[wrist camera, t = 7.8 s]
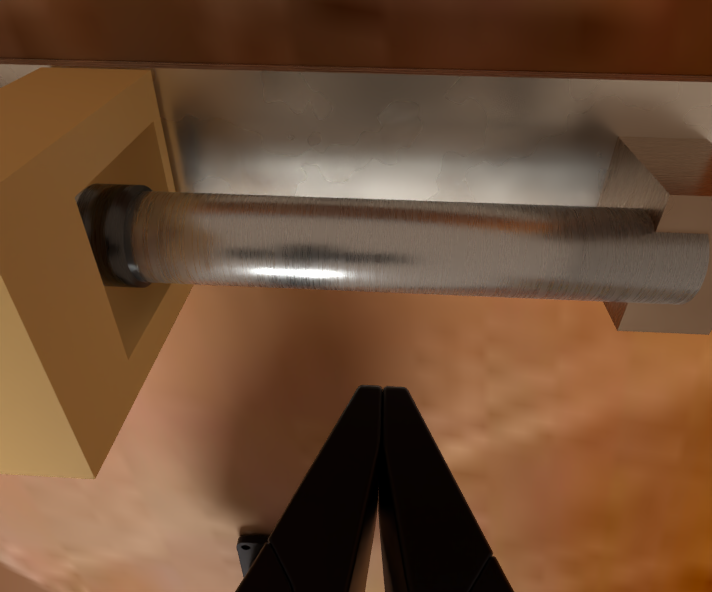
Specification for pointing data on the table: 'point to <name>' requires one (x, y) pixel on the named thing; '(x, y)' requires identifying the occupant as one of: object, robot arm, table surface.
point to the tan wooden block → (73, 267)
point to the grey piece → (421, 185)
